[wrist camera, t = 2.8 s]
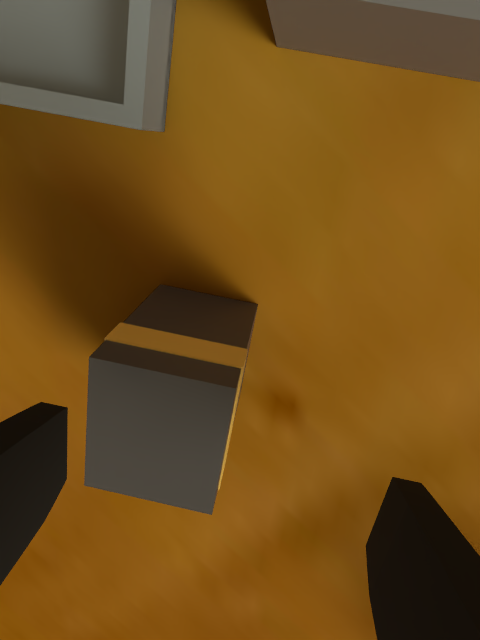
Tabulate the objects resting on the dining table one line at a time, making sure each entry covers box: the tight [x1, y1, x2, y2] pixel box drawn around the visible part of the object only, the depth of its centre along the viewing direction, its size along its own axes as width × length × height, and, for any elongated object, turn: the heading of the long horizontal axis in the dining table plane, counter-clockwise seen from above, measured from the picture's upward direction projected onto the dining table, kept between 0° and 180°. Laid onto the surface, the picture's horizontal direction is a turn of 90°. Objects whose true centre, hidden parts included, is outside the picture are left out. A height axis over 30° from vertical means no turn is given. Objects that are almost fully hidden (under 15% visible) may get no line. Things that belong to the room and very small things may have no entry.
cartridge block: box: [84, 284, 258, 515], centre depth 15 cm, size 4×5×6 cm
